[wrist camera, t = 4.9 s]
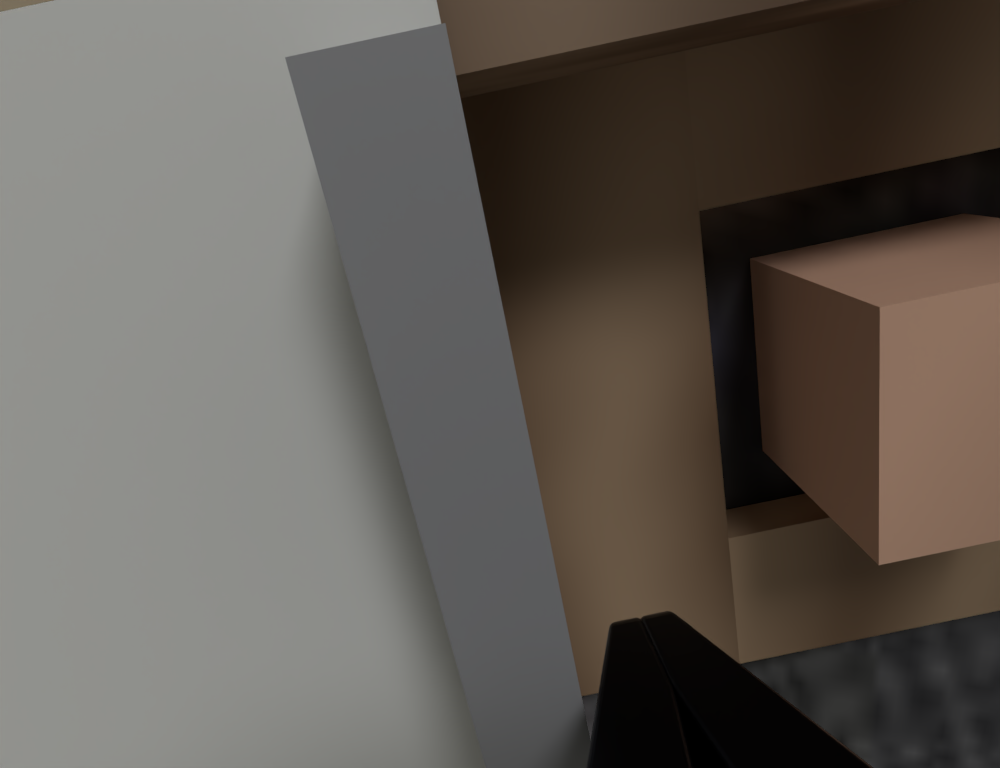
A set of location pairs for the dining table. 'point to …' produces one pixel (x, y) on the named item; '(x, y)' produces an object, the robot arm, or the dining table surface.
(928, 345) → the block
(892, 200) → the dining table surface
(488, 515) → the cover
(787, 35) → the brown open box
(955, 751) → the dining table surface
